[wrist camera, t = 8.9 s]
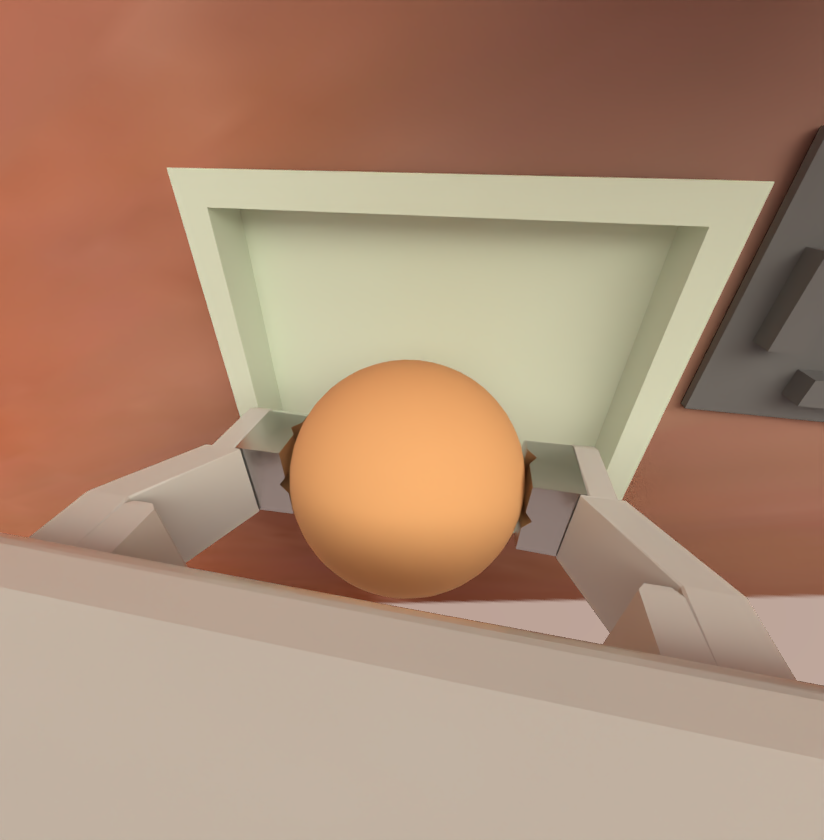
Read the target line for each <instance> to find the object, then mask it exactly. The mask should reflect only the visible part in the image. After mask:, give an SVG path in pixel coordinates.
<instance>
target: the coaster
mask: <svg viewBox="0 0 824 840" xmlns="http://www.w3.org/2000/svg"><path fill="white" fill-rule="evenodd" d="M681 404H682V405H683V406H684V408H688V409H698V410H708V411H718V412H728V413H738V414H748V415H758V416H768V417H778V418H788V419H798V420H808V421H818V422H824V125H823V126H821V127H820V129H819V131H818V132H817V134H816V136H815V138H814V140H813V142H812V144H811V146H810V148H809V150H808V152H807V154H806V156H805V158H804V160H803V162H802V164H801V166H800V168H799V170H798V172H797V174H796V176H795V178H794V180H793V182H792V184H791V186H790V188H789V190H788V192H787V194H786V196H785V198H784V200H783V202H782V204H781V206H780V208H779V210H778V212H777V214H776V216H775V218H774V220H773V222H772V224H771V226H770V228H769V230H768V232H767V234H766V236H765V238H764V240H763V242H762V244H761V246H760V248H759V250H758V252H757V253H756V255H755V257H754V259H753V261H752V263H751V265H750V267H749V269H748V271H747V273H746V275H745V277H744V279H743V281H742V283H741V285H740V287H739V289H738V291H737V293H736V295H735V297H734V299H733V301H732V303H731V305H730V307H729V309H728V311H727V313H726V315H725V317H724V319H723V321H722V323H721V325H720V327H719V329H718V331H717V333H716V335H715V337H714V339H713V341H712V343H711V345H710V347H709V349H708V351H707V353H706V355H705V357H704V359H703V361H702V363H701V365H700V367H699V369H698V371H697V373H696V375H695V376H694V378H693V380H692V382H691V384H690V386H689V388H688V390H687V392H686V394H685V396H684V398H683V400H682V402H681Z"/></svg>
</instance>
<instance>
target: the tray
mask: <svg viewBox="0 0 824 840" xmlns="http://www.w3.org/2000/svg"><path fill="white" fill-rule="evenodd" d="M167 171H168V174H169V177H170V181H171V184H172V188H173V191H174V194H175V198H176V201H177V205H178V208H179V211H180V215H181V218H182V221H183V225H184V228H185V232H186V235H187V238H188V242H189V245H190V249H191V252H192V255H193V259H194V262H195V266H196V269H197V272H198V276H199V279H200V282H201V286H202V289H203V293H204V296H205V299H206V303H207V306H208V310H209V313H210V316H211V320H212V323H213V327H214V330H215V333H216V337H217V340H218V343H219V347H220V350H221V354H222V357H223V360H224V364H225V367H226V371H227V374H228V377H229V381H230V384H231V388H232V391H233V394H234V398H235V401H236V404H237V408H238V411H239V415H240V418H241V417H242V416H243V415H244V414H245V413H246V412H247V411H248V410H249V409H250V408H255V407H258V408H266V409H272V410H282V411H289V412H296V413H303V414H309V413H310V412H311V410H312V409H313V407H314V406H315V404H316V403H317V402H318V401H319V400H320V399H321V398H322V397H323V396H324V395H325V394H326V393H327V392H328V391H329V390H330V389H331V388H332V387H333V386H335V385H336V384H337V383H338V382H340V381H341V380H343V379H344V378H346V377H347V376H349V375H351V374H353V373H355V372H357V371H358V370H361V369H363V368H366V367H369V366H372V365H375V364H379V363H383V362H388V361H394V360H421V361H427V362H433V363H436V364H440V365H443V366H447V367H449V368H452V369H454V370H456V371H459V372H461V373H463V374H464V375H466V376H468V377H470V378H471V379H473V380H474V381H476V382H477V383H478V384H480V385H481V386H482V387H484V388H485V389H486V390H487V391H488V392H489V393H490V394H491V395H492V396H493V397H494V398H495V400H496V401H497V402H498V403H499V404H500V406H501V407H502V408H503V410H504V411H505V412H506V414H507V415H508V417H509V419H510V421H511V423H512V424H513V427H514V429H515V431H516V433H517V436H518V439H519V441H520V444H521V448H522V444H523V442H524V440H527V441H536V442H545V443H555V444H564V445H581V446H592V447H595V448H597V449H598V451H599V453H600V456H601V458H602V461H603V463H604V466H605V468H606V471H607V473H608V476H609V479H610V481H611V484H612V486H613V489H614V491H615V494H616V496H617V499H618V500H622V498H623V496H624V494H625V492H626V490H627V488H628V486H629V484H630V482H631V480H632V478H633V476H634V473H635V471H636V469H637V467H638V465H639V463H640V461H641V459H642V457H643V455H644V453H645V451H646V449H647V446H648V444H649V442H650V440H651V438H652V436H653V434H654V432H655V430H656V428H657V426H658V424H659V422H660V419H661V417H662V415H663V413H664V411H665V409H666V407H667V405H668V403H669V401H670V399H671V397H672V394H673V392H674V390H675V388H676V386H677V384H678V382H679V380H680V378H681V376H682V374H683V372H684V370H685V367H686V365H687V363H688V361H689V359H690V357H691V355H692V353H693V351H694V349H695V347H696V345H697V343H698V340H699V338H700V336H701V334H702V332H703V330H704V328H705V326H706V324H707V322H708V320H709V318H710V316H711V313H712V311H713V309H714V307H715V305H716V303H717V301H718V299H719V297H720V295H721V293H722V291H723V289H724V286H725V284H726V282H727V280H728V278H729V276H730V274H731V272H732V270H733V268H734V266H735V264H736V262H737V259H738V257H739V255H740V253H741V251H742V249H743V247H744V245H745V243H746V241H747V239H748V237H749V234H750V232H751V230H752V228H753V226H754V224H755V222H756V220H757V218H758V216H759V214H760V212H761V210H762V207H763V205H764V203H765V201H766V199H767V197H768V195H769V193H770V191H771V189H772V187H773V185H774V183H775V182H773V181H746V180H716V179H672V178H628V177H584V176H540V175H496V174H452V173H407V172H363V171H319V170H275V169H231V168H167ZM513 533H515V532H513Z"/></svg>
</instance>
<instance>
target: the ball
mask: <svg viewBox="0 0 824 840" xmlns="http://www.w3.org/2000/svg"><path fill="white" fill-rule="evenodd" d="M524 494H525V463H524V458H523V453H522V448H521V444H520V441H519V439H518V436H517V433H516V431H515V429H514V427H513V424H512V423H511V421H510V419H509V417H508V415H507V414H506V412H505V411H504V410H503V408H502V407H501V406H500V404H499V403H498V402H497V401H496V400H495V398H494V397H493V396H492V395H491V394H490V393H489V392H488V391H487V390H486V389H485V388H484V387H482V386H481V385H480V384H478V383H477V382H476V381H474V380H473V379H471V378H470V377H468V376H466V375H464V374H463V373H461V372H459V371H456V370H454V369H452V368H449V367H447V366H443V365H440V364H436V363H433V362H427V361H421V360H394V361H388V362H383V363H379V364H375V365H372V366H369V367H366V368H363V369H361V370H358V371H357V372H355V373H353V374H351V375H349V376H347V377H346V378H344V379H343V380H341V381H340V382H338V383H337V384H336V385H335V386H333V387H332V388H331V389H330V390H329V391H328V392H327V393H326V394H325V395H324V396H323V397H322V398H321V399H320V400H319V401H318V402H317V403H316V404H315V406H314V407H313V409H312V410H311V412H310V413H309V415H308V416H307V418H306V420H305V421H304V423H303V424H302V427H301V429H300V432H299V434H298V437H297V439H296V442H295V444H294V448H293V453H292V458H291V464H290V495H291V501H292V506H293V511H294V514H295V517H296V520H297V523H298V525H299V527H300V530H301V532H302V534H303V536H304V538H305V540H306V541H307V543H308V544H309V546H310V547H311V549H312V550H313V552H314V553H315V554H316V556H317V557H318V558H319V559H320V560H321V561H322V562H323V563H324V564H325V565H326V566H327V567H328V568H329V569H330V570H331V571H333V572H334V573H335V574H336V575H338V576H339V577H340V578H342V579H343V580H345V581H346V582H348V583H350V584H351V585H353V586H355V587H357V588H359V589H362V590H364V591H367V592H369V593H373V594H376V595H380V596H384V597H390V598H399V599H411V598H424V597H430V596H435V595H438V594H442V593H444V592H447V591H450V590H453V589H455V588H457V587H460V586H461V585H463V584H465V583H466V582H468V581H470V580H471V579H473V578H474V577H476V576H477V575H479V574H480V573H481V572H482V571H484V570H485V569H486V568H487V567H488V566H489V565H490V564H491V563H492V562H493V561H494V560H495V559H496V557H497V556H498V555H499V554H500V553H501V551H502V550H503V548H504V547H505V545H506V544H507V542H508V541H509V539H510V537H511V536H512V534H513V532H514V529H515V527H516V525H517V522H518V519H519V517H520V514H521V510H522V505H523V500H524Z"/></svg>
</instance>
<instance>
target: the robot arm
mask: <svg viewBox="0 0 824 840" xmlns="http://www.w3.org/2000/svg"><path fill="white" fill-rule="evenodd" d="M308 415H309V414H303V413H296V412H289V411H282V410H272V409H266V408H258V407H255V408H250V409H249V410H248V411H247V412H246V413H245V414H244V415H243V416H242V417H241V418H240V419H239V420H237V421H236V422H235V423H234V424H233V425H232V426H231V427H230V428H229V429H228V430H227V431H226V432H225V433H224V434H223V435H222V436H221V437H220V438H219V439H218V440H217V441H216V442H215V443H214V444H213V445H207V444H205V445H203V446H200V447H198V448H195V449H193V450H190V451H188V452H185V453H183V454H180V455H178V456H175V457H172V458H170V459H167V460H165V461H162V462H160V463H157V464H155V465H152V466H150V467H147V468H145V469H142V470H139V471H137V472H134V473H132V474H129V475H127V476H124V477H122V478H119V479H117V480H114V481H112V482H109V483H106V484H104V485H101V486H99V487H96V488H94V489H91V490H89V491H87V492H86V493H84V494H83V495H82V496H81V497H79V498H78V499H77V500H76V501H74V502H73V503H72V504H71V505H69V506H68V507H67V508H65V509H64V510H63V511H62V512H60V513H59V514H58V515H57V516H55V517H54V518H53V519H52V520H50V521H49V522H48V523H46V524H45V525H44V526H43V527H41V528H40V529H39V530H38V531H36V532H35V533H34V534H33V535H31V536H30V537H29V538H28V537H22V536H17V535H11V534H6V533H1V532H0V840H824V686H823V685H817V684H812V683H806V682H801V681H797V680H796V679H795V677H794V675H793V674H792V672H791V670H790V669H789V667H788V665H787V664H786V662H785V661H784V659H783V657H782V656H781V654H780V652H779V650H778V649H777V647H776V645H775V644H774V642H773V640H772V639H771V637H770V635H769V634H768V632H767V630H766V629H765V627H764V625H763V624H762V622H761V620H760V619H759V617H758V615H757V614H756V612H755V610H754V609H753V607H752V605H751V604H750V602H749V600H748V598H746V597H745V596H744V595H743V594H741V593H740V592H739V591H738V590H736V589H735V588H734V587H733V586H731V585H730V584H729V583H728V582H726V581H725V580H724V579H723V578H721V577H720V576H719V575H718V574H716V573H715V572H714V571H713V570H711V569H710V568H709V567H708V566H706V565H705V564H704V563H703V562H701V561H700V560H699V559H698V558H696V557H695V556H694V555H693V554H691V553H690V552H689V551H688V550H686V549H685V548H684V547H683V546H681V545H680V544H679V543H678V542H676V541H675V540H674V539H673V538H671V537H670V536H669V535H668V534H666V533H665V532H664V531H663V530H661V529H660V528H659V527H658V526H656V525H655V524H654V523H653V522H651V521H650V520H649V519H648V518H646V517H645V516H644V515H643V514H641V513H640V512H639V511H638V510H636V509H635V508H634V507H633V506H631V505H630V504H629V503H628V502H626V501H622V500H618V499H617V496H616V494H615V491H614V489H613V486H612V484H611V481H610V479H609V476H608V473H607V471H606V468H605V466H604V463H603V461H602V458H601V456H600V453H599V451H598V449H597V448H595V447H592V446H581V445H564V444H555V443H545V442H536V441H527V440H524V442H523V444H522V453H523V458H524V463H525V494H524V500H523V505H522V510H521V514H520V517H519V519H518V522H517V525H516V527H515V529H514V532H515V546H516V549H519V550H525V551H530V552H536V553H541V554H547V555H552V556H557V557H556V559H557V560H558V562H559V563H560V564H561V566H562V567H563V568H564V570H565V571H566V573H567V574H568V575H569V577H570V578H571V580H572V581H573V582H574V584H575V585H576V587H577V588H578V589H579V591H580V592H581V594H582V595H583V596H584V598H585V599H586V601H587V602H588V603H589V605H590V606H591V607H592V609H593V610H594V612H595V613H596V614H597V616H598V617H599V619H600V620H601V621H602V623H603V624H604V626H605V627H606V628H607V630H608V631H609V633H610V634H609V636H608V637H607V639H606V640H605V642H604V643H603V644H597V643H591V642H587V641H581V640H576V639H570V638H565V637H560V636H554V635H549V634H543V633H538V632H532V631H527V630H522V629H516V628H511V627H505V626H500V625H495V624H489V623H483V622H478V621H473V620H468V619H462V618H457V617H451V616H445V615H440V614H434V613H429V612H424V611H419V610H413V609H408V608H402V607H397V606H392V605H386V604H381V603H376V602H370V601H365V600H360V599H354V598H349V597H344V596H338V595H333V594H328V593H322V592H317V591H312V590H306V589H301V588H296V587H290V586H285V585H280V584H274V583H269V582H264V581H258V580H253V579H248V578H242V577H237V576H232V575H226V574H221V573H215V572H210V571H205V570H199V569H194V568H189V567H187V565H186V562H188V561H189V560H190V559H192V558H193V557H195V556H196V555H198V554H199V553H200V552H202V551H203V550H205V549H206V548H208V547H209V546H210V545H212V544H213V543H215V542H216V541H218V540H219V539H220V538H222V537H223V536H225V535H226V534H228V533H229V532H230V531H232V530H233V529H235V528H236V527H238V526H239V525H240V524H242V523H243V522H245V521H246V520H248V519H249V518H250V517H252V516H253V515H255V514H256V513H258V512H259V509H260V510H268V511H276V512H283V513H291V514H294V511H293V506H292V501H291V495H290V464H291V458H292V453H293V448H294V444H295V442H296V439H297V437H298V434H299V432H300V429H301V427H302V424H303V423H304V421H305V420H306V418H307V416H308Z"/></svg>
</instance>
